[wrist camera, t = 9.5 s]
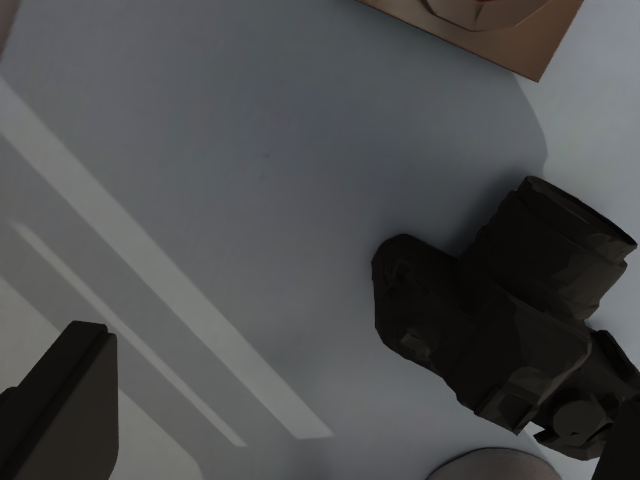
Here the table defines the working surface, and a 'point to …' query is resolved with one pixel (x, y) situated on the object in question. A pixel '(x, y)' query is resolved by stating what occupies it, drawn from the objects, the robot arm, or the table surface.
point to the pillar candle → (496, 467)
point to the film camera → (516, 317)
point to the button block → (492, 27)
